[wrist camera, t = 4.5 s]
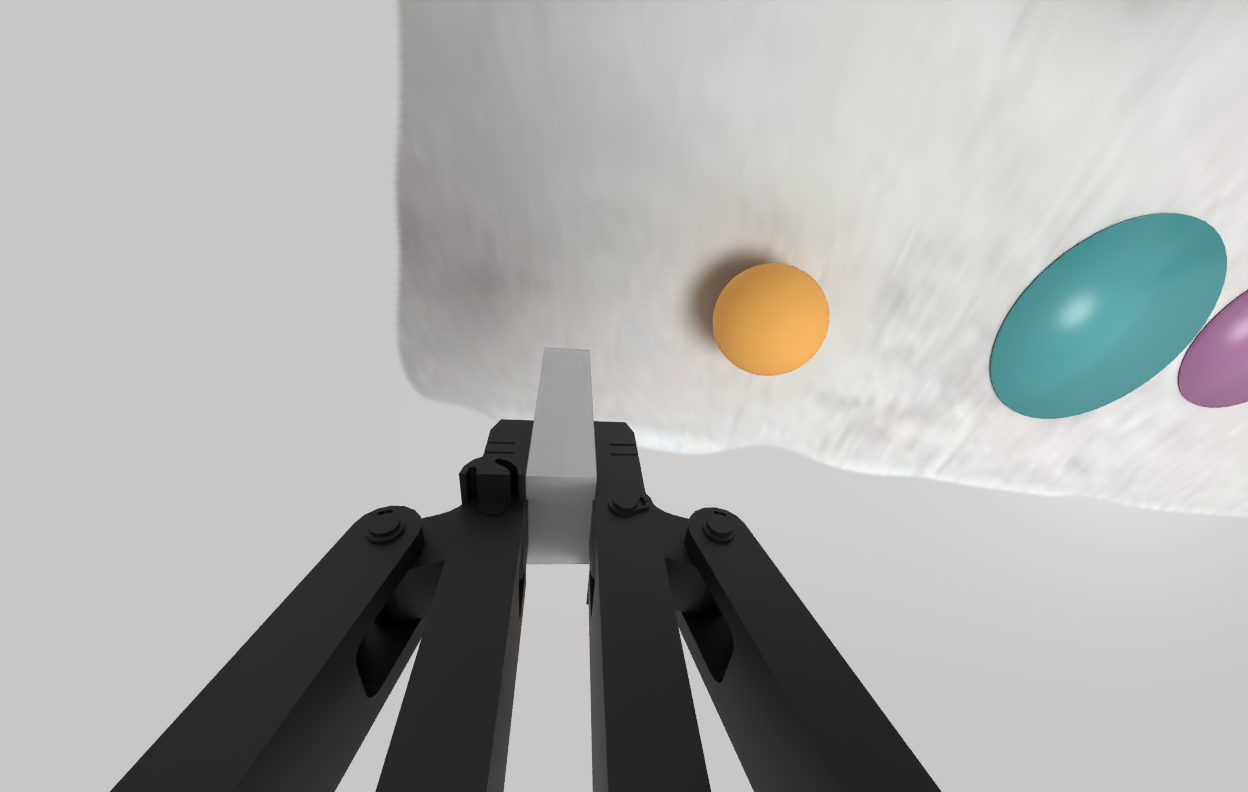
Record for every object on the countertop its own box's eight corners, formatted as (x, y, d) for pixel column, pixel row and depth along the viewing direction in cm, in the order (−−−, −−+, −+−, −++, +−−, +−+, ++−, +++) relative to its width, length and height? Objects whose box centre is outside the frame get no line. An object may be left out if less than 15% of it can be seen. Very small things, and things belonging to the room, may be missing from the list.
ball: (712, 246, 24) (745, 277, 19) (814, 255, 24) (870, 287, 19) (694, 344, 26) (718, 393, 22) (785, 350, 27) (828, 398, 22)
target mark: (1069, 202, 24) (1073, 202, 24) (1278, 224, 25) (1282, 225, 25) (953, 412, 30) (955, 414, 30) (1124, 420, 32) (1127, 422, 32)
